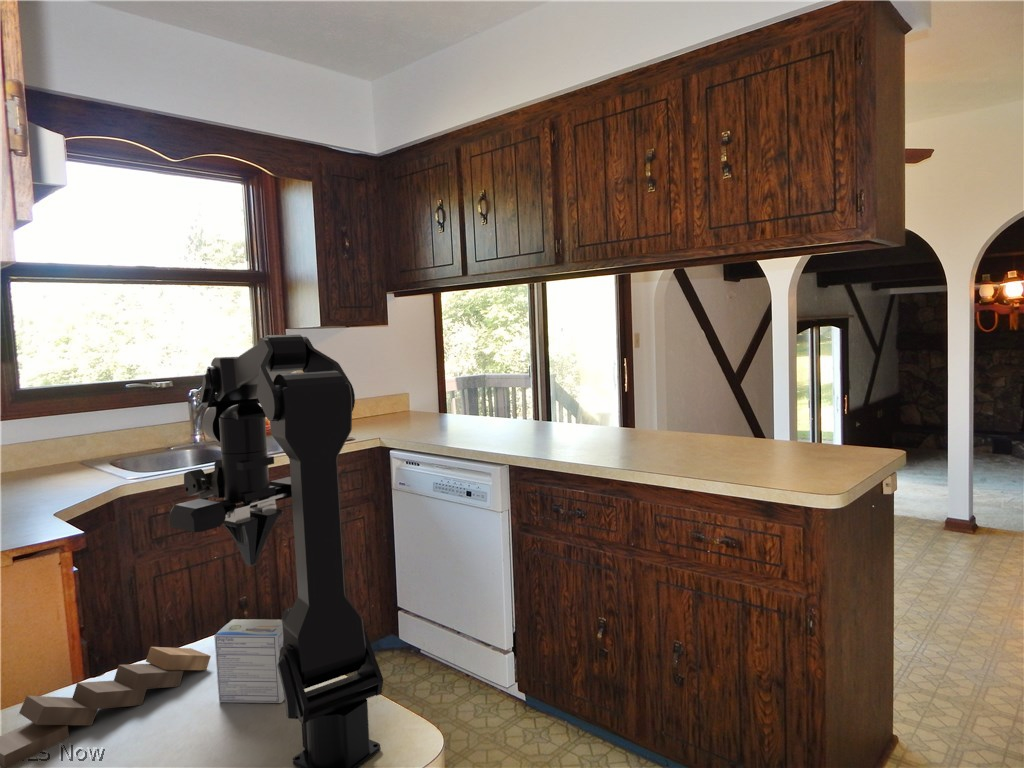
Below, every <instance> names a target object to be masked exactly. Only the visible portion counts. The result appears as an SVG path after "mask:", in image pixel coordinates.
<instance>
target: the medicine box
mask: <svg viewBox="0 0 1024 768" xmlns="http://www.w3.org/2000/svg"><path fill="white" fill-rule="evenodd" d="M281 647H283V626H282V619H271V618H270V619H267V618H266V619H265V618H264V619H260V618H257V619H252V618H251V619H231V620H230V621H229V622H228V623H226V624H225V625H224V626H223V627H222V628H220V629H219V630H218V632H216V633H215V634H214V648H215V649H214V650H215V663H216V665H215V666H216V675H217V676H216V677H217V688H218V689H217V690H218V691H217V693H218V694H217V695H218V702H219V703H247V704H248V703H253V704H254V703H259V704H260V703H264V704H266V703H267V704H282V703H283V702H284V701H285V697H284V692H283V687H282V683H281V679H280V675H279V671H278V666H277V665H278V662H279V657H280V649H281Z"/></svg>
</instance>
